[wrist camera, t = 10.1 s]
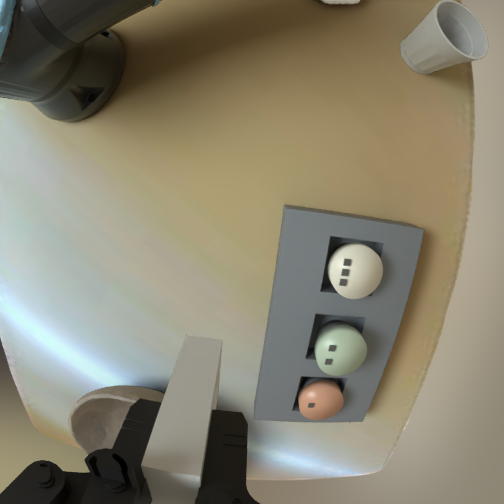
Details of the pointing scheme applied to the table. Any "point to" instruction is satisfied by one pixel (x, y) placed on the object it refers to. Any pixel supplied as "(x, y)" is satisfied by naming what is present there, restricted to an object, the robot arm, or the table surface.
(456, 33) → the cup
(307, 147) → the table surface
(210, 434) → the robot arm
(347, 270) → the button three
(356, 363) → the button two
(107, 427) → the bowl
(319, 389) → the button one
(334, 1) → the plate
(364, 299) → the console
